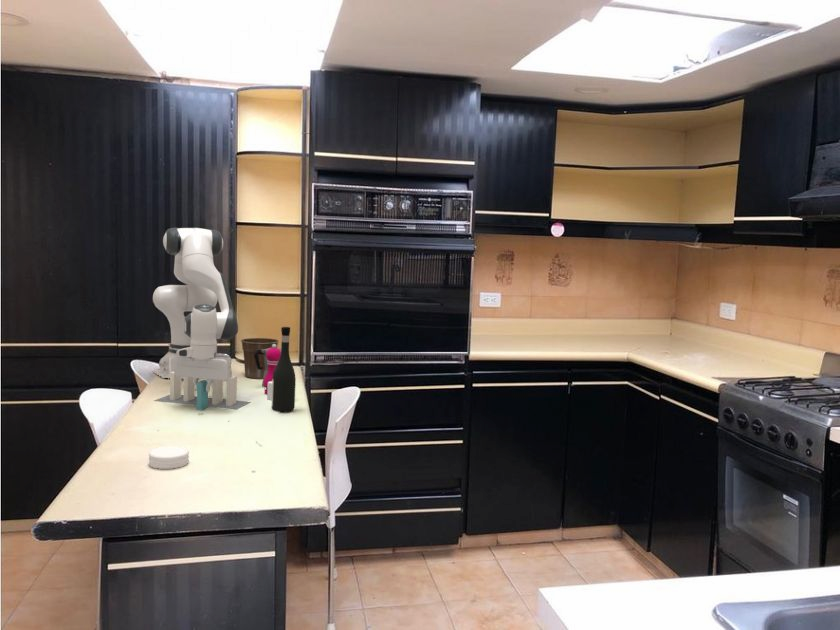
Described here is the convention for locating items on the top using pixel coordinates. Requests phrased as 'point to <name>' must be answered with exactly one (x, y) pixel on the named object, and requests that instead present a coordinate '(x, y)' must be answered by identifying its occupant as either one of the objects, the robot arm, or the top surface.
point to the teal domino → (202, 395)
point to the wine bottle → (284, 378)
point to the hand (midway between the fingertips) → (202, 390)
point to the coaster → (168, 457)
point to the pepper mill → (271, 364)
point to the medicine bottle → (269, 390)
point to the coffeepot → (264, 361)
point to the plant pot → (249, 349)
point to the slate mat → (219, 405)
